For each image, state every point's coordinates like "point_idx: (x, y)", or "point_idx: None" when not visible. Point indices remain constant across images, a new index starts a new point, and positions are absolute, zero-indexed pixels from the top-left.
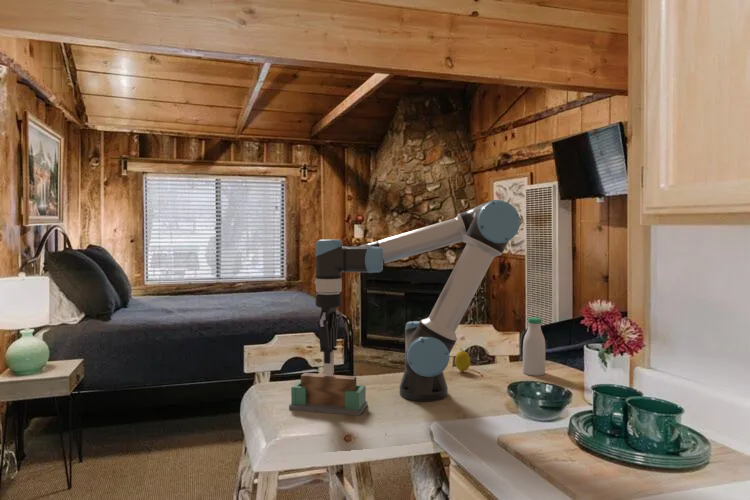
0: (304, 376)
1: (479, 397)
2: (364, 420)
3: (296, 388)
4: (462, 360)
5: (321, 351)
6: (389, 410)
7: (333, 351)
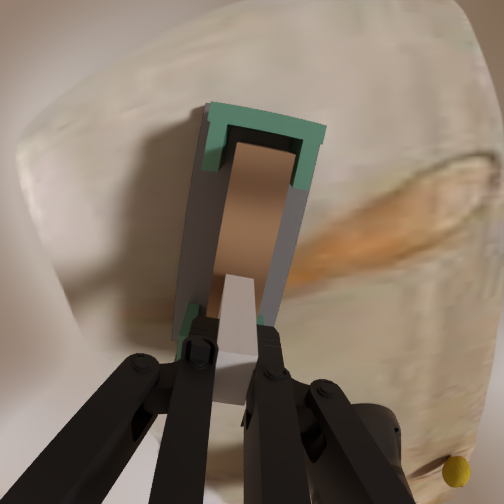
0: (233, 163)
1: None
2: (145, 345)
3: (209, 126)
4: (448, 478)
5: (189, 344)
6: None
7: (235, 403)
